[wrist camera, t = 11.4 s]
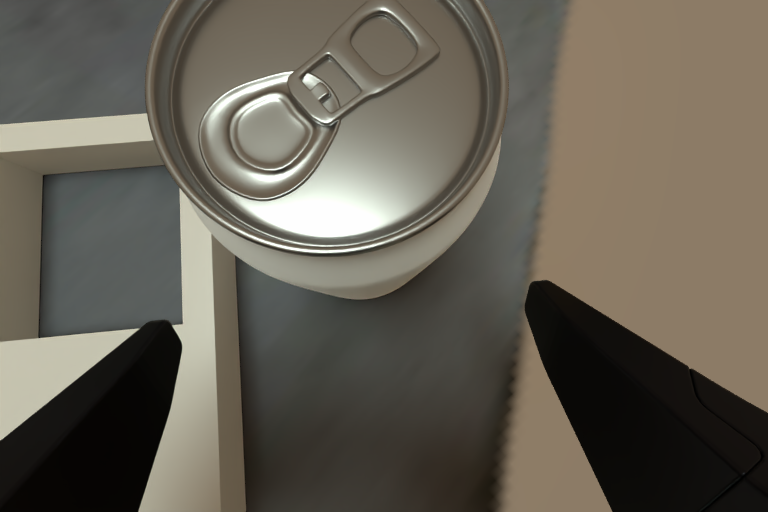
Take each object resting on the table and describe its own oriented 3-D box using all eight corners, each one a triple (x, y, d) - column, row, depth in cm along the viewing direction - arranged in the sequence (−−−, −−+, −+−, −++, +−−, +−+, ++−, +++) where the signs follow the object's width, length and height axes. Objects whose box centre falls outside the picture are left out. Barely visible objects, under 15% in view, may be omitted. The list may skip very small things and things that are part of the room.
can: (263, 223, 18) (28, 50, 6) (368, 139, 18) (354, -173, 6) (352, 329, 17) (297, 383, 5) (457, 238, 18) (624, 99, 6)
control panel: (256, 761, 15) (222, 892, 11) (-7, 798, 14) (-120, 944, 11) (230, 136, 18) (197, 98, 15) (17, 152, 18) (-64, 118, 14)
